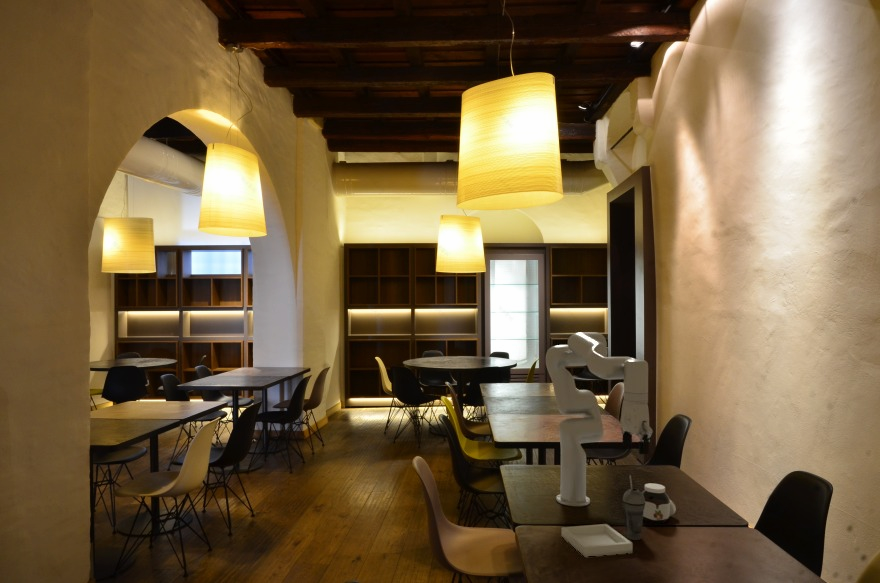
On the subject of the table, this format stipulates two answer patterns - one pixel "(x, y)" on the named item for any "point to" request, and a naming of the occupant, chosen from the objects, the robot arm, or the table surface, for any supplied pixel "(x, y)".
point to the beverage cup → (633, 512)
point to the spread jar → (657, 503)
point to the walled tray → (596, 540)
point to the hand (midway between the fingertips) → (635, 450)
